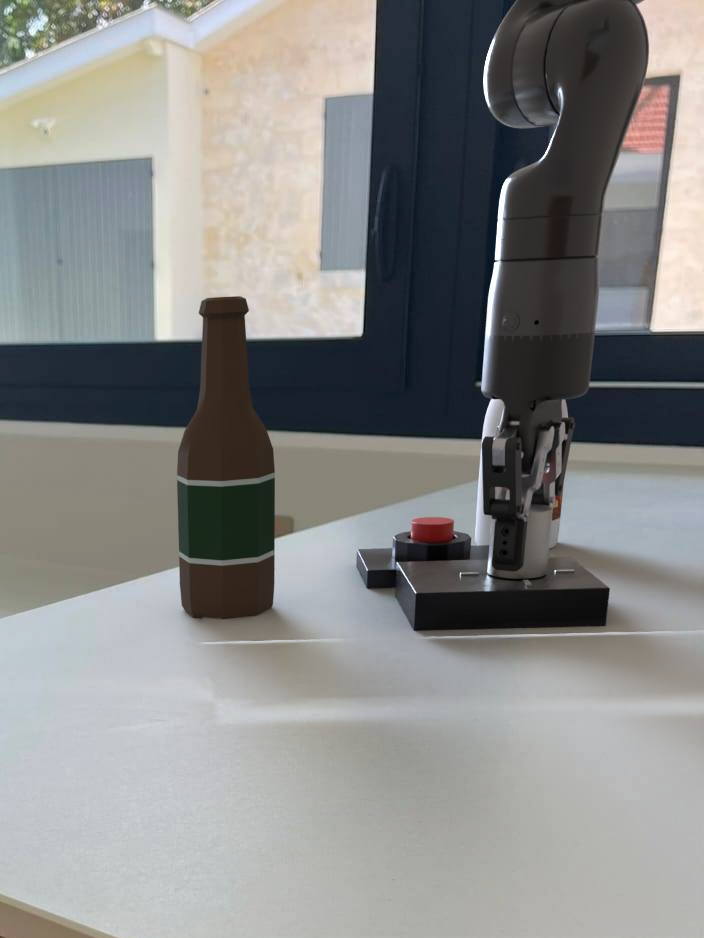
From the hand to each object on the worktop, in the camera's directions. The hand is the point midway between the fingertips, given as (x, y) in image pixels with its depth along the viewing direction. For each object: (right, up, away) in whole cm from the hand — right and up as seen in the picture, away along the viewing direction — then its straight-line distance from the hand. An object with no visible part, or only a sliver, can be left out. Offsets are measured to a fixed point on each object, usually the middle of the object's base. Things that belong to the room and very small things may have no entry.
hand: (518, 561), depth 95 cm
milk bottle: (+8, +6, +24) cm, 26 cm away
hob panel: (-1, -4, +2) cm, 4 cm away
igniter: (-3, +1, +14) cm, 14 cm away
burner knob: (0, -1, 0) cm, 1 cm away
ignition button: (-3, +4, +13) cm, 14 cm away
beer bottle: (-22, -3, +7) cm, 23 cm away
